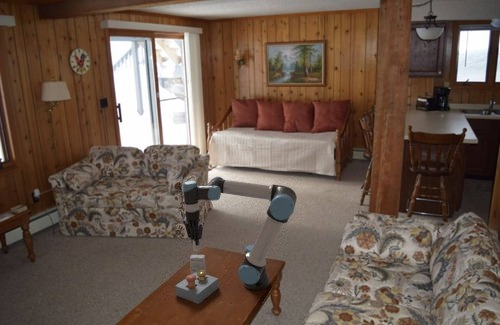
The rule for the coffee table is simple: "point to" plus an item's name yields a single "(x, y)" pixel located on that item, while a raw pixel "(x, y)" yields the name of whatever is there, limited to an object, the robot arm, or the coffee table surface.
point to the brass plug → (202, 275)
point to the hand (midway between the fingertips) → (196, 250)
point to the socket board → (197, 288)
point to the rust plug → (191, 281)
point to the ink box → (197, 263)
